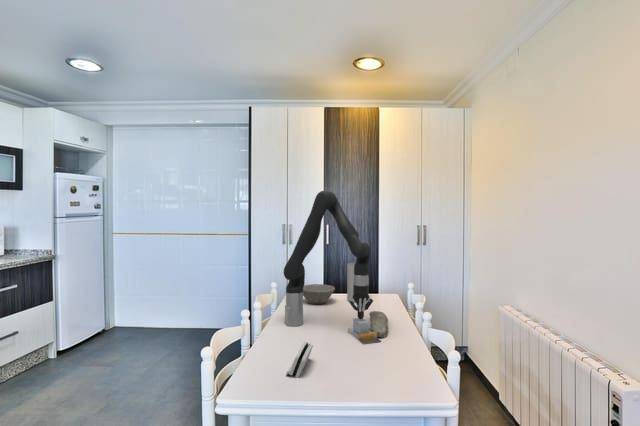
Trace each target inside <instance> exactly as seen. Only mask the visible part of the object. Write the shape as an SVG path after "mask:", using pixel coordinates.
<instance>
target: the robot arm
mask: <svg viewBox="0 0 640 426" xmlns="http://www.w3.org/2000/svg"><path fill="white" fill-rule="evenodd" d="M326 211H328V212H329V214H331V215H332V217H333V219H334V221H335V223H336V225H337V228H338V230H339V232H340V234H341V235H342V237H343V239H344V240H345V241H346V243H347V245H348V249H349V250H350V252H351V254H352V255H353V257H356V263H355V264H354V278H353V298H352V299H351V300H349V301H348V300H347V301H348V303H349V304H350V306H351V307H352V308H353V310H354V311H356V312H357V318H359V319H364V317H365V311H367V310H369V308H370V307H371V305H372V304H373V302H374V299H373V298H371V297H370V294H369V290H370V289H369V288H370V287H369V286H370V285H369V283H370V279H369V264H370V263H369V262H370V259H371V258H370V257H371V247H370V245H369V244H368V243H366V242H361V240H360V238H359V237H360V235H359V233H358V231H357V229H356V228H355V226H354V224H352V223H351V221H350V220H349V218H348V217H347V215H346V213H345V212H344V210H343V208H342V206H341V204H340V201H339V199H338V198H337V196H336V194H335V193H334V192H331V191H329V190H321V191H319V192H318V193H316V196H315V198H314V200H313V204H312V208H311V210H310V213H309V215H308V217H307V219H306V222H305V224H304V226H303V228H302V230H301V233H300V234H299V237H298V239H297V242H296V244H295V246H294V248H293V251H292V253H291V255H290V257H289V259H288V261H287V262H286V263H285V266H284V268H283V275H284V278H285V279H286V280H287V281H288V283H287V285H286V286H285V304H284V324H285V325H286V326H287V327H298V326H302V325H304V296H303V288H304V286H305V283H306V282H305V279H306V269H305V266H304V264H303V263H304V261H305V259H306V258H307V256H308V255H309V253H310V252H311V251H312V250H313V248H315V245H316V244H317V241H318V239H319V238H320V234H321V230H322V229H321V228H322V220H323V218H324V216H325V214H326ZM354 301H355V302H356V303H355V302H354Z"/></svg>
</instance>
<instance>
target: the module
mask: <svg viewBox="0 0 640 426" xmlns="http://www.w3.org/2000/svg"><path fill="white" fill-rule="evenodd" d="M352 322H353V323H352V330H353V331H354V332H355V333H356V334H361V333H368V330H369V321H367V320H366V319H364V318H363V319H359V318H358V317H356V318H352Z"/></svg>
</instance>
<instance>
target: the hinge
mask: <svg viewBox="0 0 640 426" xmlns="http://www.w3.org/2000/svg"><path fill="white" fill-rule="evenodd" d="M313 347H314V345H313V344H312V343H308V342H307V341H304V342H302V344H301V346H300V348H299V349H298V351H297V353H296V355H295V357H294V360H292V361H293V362H292V363H291V364H290V366H289V368H288V369H287V371H286V373H285V377H288V375H289V376H294V377H295V378H297V379H299V377H300V376H301V374H302V372H303V370H304V368H305V366H306V364H307V363H308V360H309V357H310V356H311V352H312V349H313Z"/></svg>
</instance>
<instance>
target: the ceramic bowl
mask: <svg viewBox="0 0 640 426" xmlns="http://www.w3.org/2000/svg"><path fill="white" fill-rule="evenodd" d="M334 292H335V286H333V285H330V284H329V285H328V284H321V283H320V284H318V283H317V284H315V283H313V284H304V288H303V298H304V299H305V300H306V302H307V303H309V304H310V305H323V304H325V303H326V302H328V301H329V299H330V298H331V297H332V295H333V293H334Z"/></svg>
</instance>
